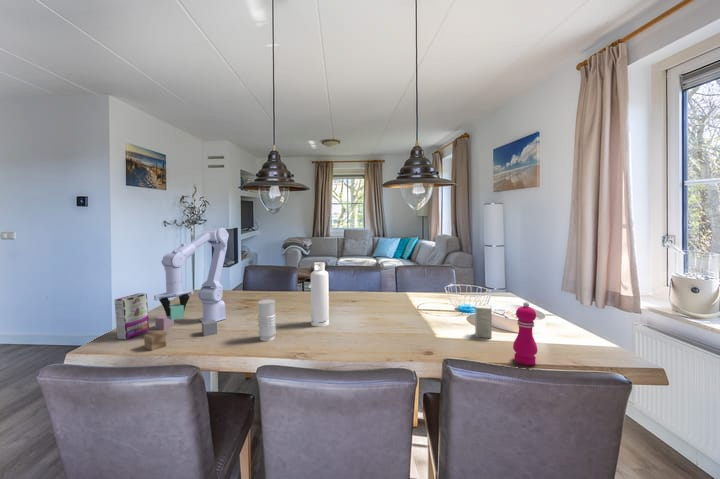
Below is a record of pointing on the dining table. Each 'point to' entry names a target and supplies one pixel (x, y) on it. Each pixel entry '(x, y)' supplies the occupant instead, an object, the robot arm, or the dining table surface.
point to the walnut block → (155, 340)
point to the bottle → (319, 295)
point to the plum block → (163, 322)
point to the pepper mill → (525, 336)
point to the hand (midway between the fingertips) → (175, 314)
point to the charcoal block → (209, 327)
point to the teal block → (176, 311)
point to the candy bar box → (131, 316)
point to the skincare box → (483, 321)
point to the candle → (267, 320)
